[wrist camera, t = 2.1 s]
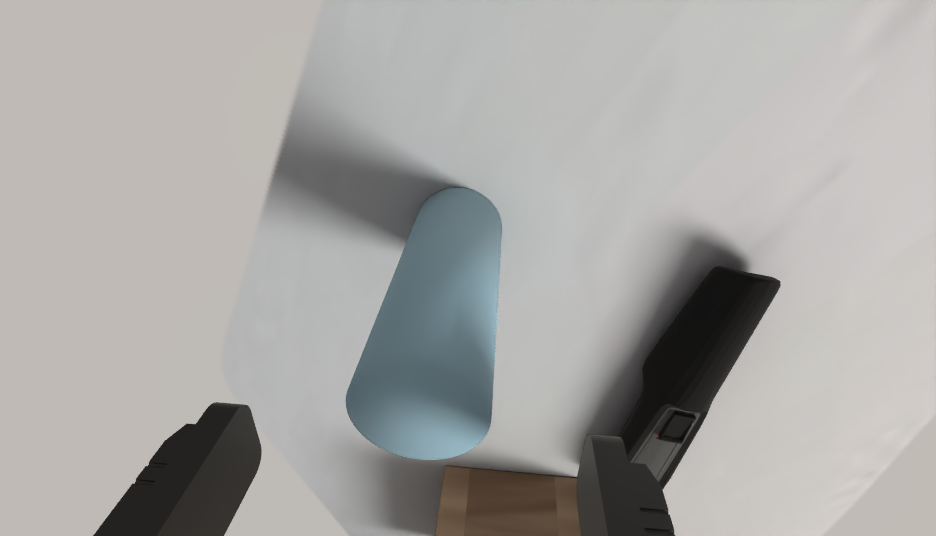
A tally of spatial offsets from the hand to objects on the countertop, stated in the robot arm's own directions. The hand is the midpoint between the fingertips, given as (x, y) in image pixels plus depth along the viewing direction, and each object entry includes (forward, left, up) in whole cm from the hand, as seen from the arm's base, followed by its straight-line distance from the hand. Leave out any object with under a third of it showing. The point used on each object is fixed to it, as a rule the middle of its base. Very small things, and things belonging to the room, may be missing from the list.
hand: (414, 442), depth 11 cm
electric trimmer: (+8, +10, -11) cm, 17 cm away
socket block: (+20, +4, -11) cm, 23 cm away
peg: (0, 0, -11) cm, 11 cm away
